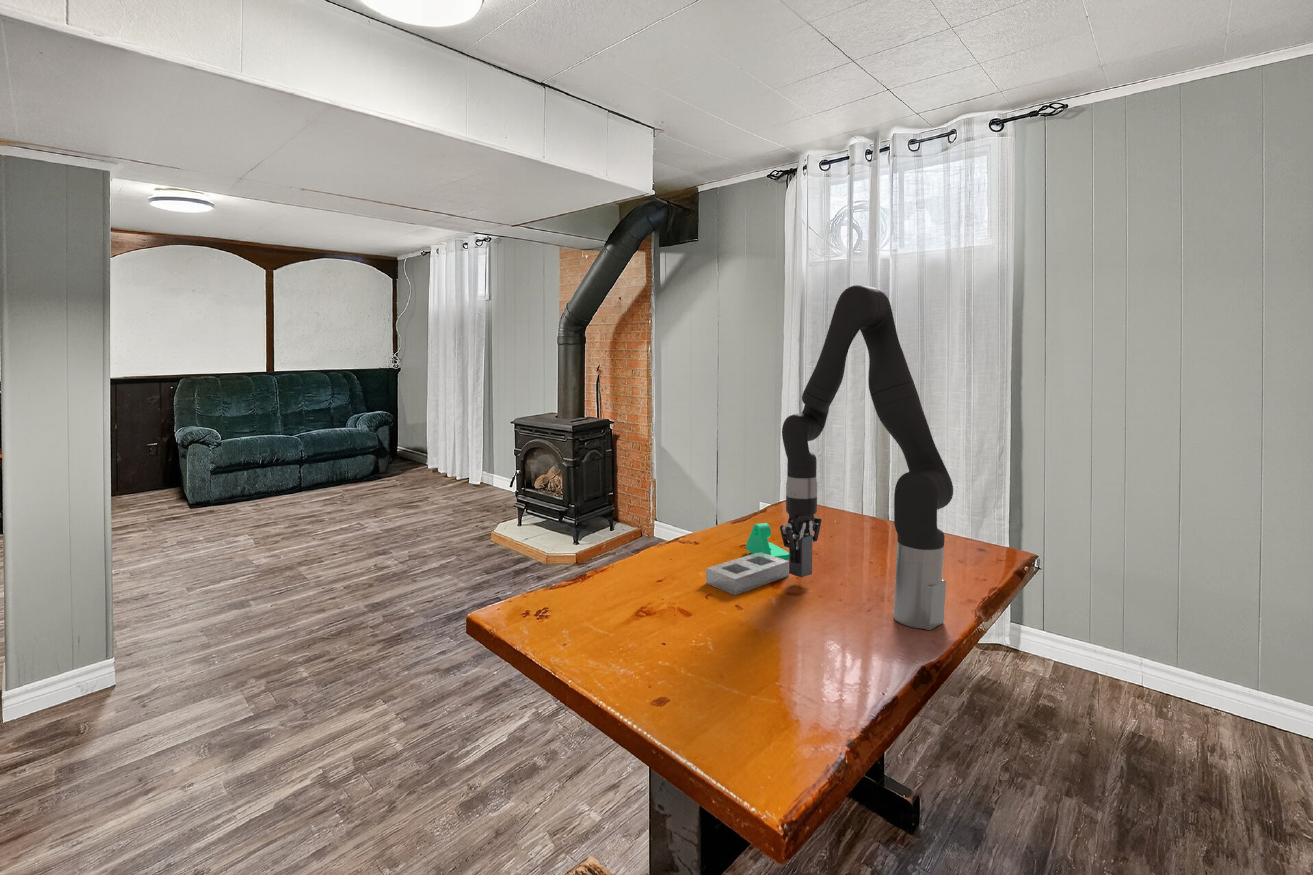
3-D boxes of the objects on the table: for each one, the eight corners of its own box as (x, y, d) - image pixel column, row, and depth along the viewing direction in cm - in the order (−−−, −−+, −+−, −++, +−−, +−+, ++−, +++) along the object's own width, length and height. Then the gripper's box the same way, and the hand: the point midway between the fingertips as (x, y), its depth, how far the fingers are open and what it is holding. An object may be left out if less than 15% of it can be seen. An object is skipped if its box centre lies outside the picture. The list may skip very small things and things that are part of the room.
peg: (812, 573, 157) (812, 534, 156) (801, 577, 154) (802, 538, 153) (799, 569, 160) (799, 531, 159) (789, 573, 157) (789, 534, 156)
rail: (788, 575, 163) (788, 561, 162) (734, 595, 151) (735, 579, 150) (759, 565, 171) (759, 551, 170) (706, 583, 158) (706, 568, 158)
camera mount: (791, 563, 173) (792, 527, 172) (766, 566, 171) (767, 529, 169) (769, 550, 185) (769, 516, 183) (746, 553, 182) (746, 518, 181)
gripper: (795, 500, 147) (794, 571, 149) (831, 492, 156) (830, 558, 158) (770, 495, 153) (770, 563, 155) (807, 487, 162) (806, 552, 164)
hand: (800, 560), depth 157 cm, fingers closed on peg, 4 cm apart
